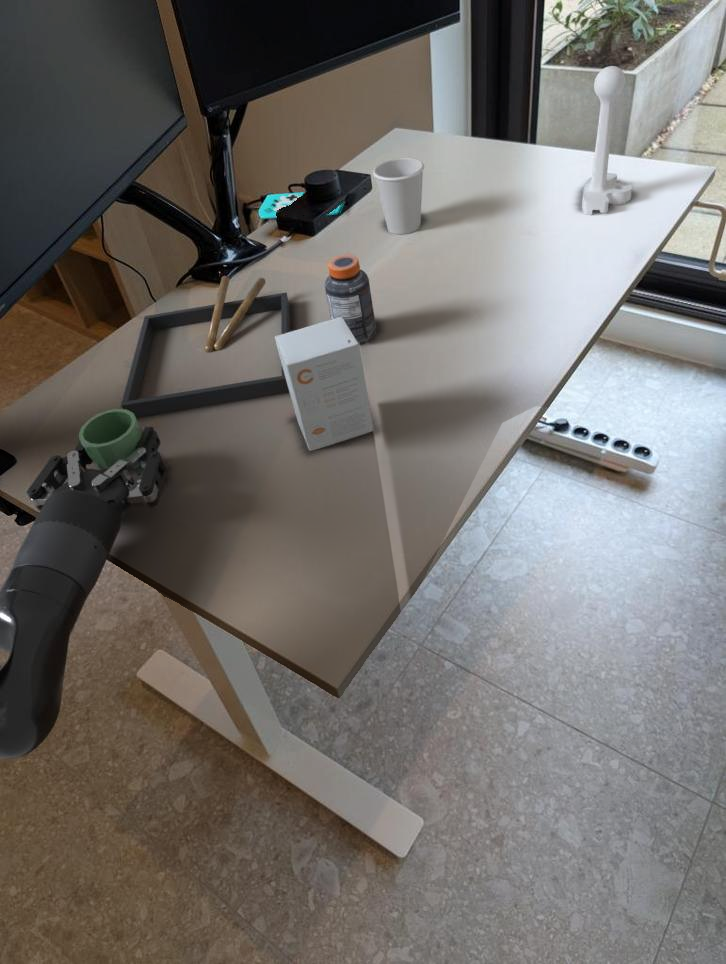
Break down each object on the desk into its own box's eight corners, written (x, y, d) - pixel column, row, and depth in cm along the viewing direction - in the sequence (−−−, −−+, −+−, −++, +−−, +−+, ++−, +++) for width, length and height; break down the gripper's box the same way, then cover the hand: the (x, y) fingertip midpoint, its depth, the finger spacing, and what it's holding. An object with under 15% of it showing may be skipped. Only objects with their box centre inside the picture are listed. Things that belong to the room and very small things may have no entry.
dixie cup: (395, 243, 114) (389, 182, 107) (371, 226, 119) (363, 168, 112) (437, 226, 116) (434, 166, 109) (411, 211, 121) (406, 153, 114)
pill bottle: (357, 318, 99) (345, 245, 91) (385, 332, 95) (375, 257, 87) (326, 337, 96) (311, 264, 88) (354, 352, 93) (341, 277, 85)
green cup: (107, 508, 78) (73, 450, 71) (116, 471, 82) (85, 414, 76) (160, 499, 78) (131, 441, 71) (166, 462, 82) (139, 404, 76)
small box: (359, 405, 85) (342, 314, 76) (375, 435, 80) (360, 343, 71) (297, 424, 84) (273, 335, 75) (310, 456, 79) (286, 365, 70)
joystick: (588, 185, 119) (601, 55, 105) (634, 186, 116) (653, 53, 102) (577, 214, 112) (589, 79, 98) (625, 216, 110) (645, 77, 95)
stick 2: (258, 277, 102) (211, 347, 97) (262, 274, 101) (214, 345, 96) (264, 282, 102) (217, 353, 97) (268, 280, 101) (221, 351, 96)
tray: (292, 396, 88) (287, 378, 86) (129, 423, 88) (120, 405, 86) (290, 309, 103) (286, 292, 101) (151, 333, 104) (144, 316, 102)
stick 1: (229, 274, 102) (212, 349, 96) (230, 280, 103) (213, 354, 97) (221, 273, 102) (203, 348, 96) (222, 279, 103) (204, 354, 97)
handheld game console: (269, 199, 133) (267, 192, 132) (348, 194, 130) (347, 187, 129) (255, 223, 127) (253, 216, 126) (339, 218, 123) (337, 211, 122)
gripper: (121, 522, 62) (172, 404, 73) (-22, 525, 64) (50, 411, 75) (150, 572, 67) (194, 455, 79) (18, 573, 69) (79, 459, 81)
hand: (123, 434), depth 77 cm, fingers closed on green cup, 6 cm apart
